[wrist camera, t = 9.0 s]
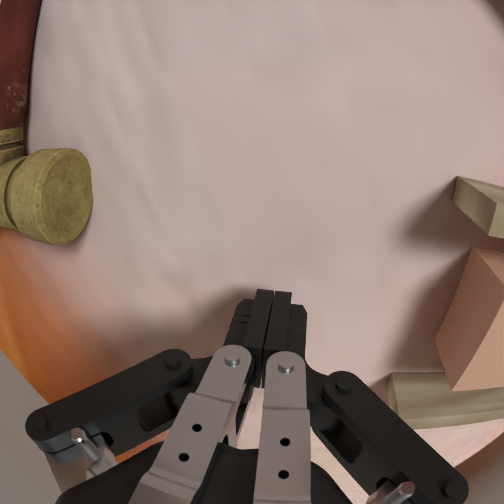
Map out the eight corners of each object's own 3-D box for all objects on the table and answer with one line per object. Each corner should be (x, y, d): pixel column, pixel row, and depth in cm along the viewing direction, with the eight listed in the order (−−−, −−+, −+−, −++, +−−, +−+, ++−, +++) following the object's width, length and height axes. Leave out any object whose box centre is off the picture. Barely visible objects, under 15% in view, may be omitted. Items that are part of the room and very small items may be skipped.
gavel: (-16, -67, 4) (104, -139, 3) (25, -56, 8) (141, -106, 7) (-48, 234, 13) (45, 262, 12) (-2, 210, 17) (99, 226, 16)
